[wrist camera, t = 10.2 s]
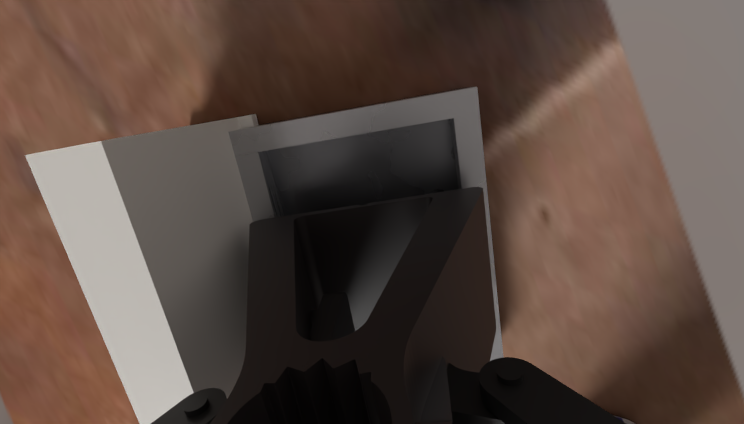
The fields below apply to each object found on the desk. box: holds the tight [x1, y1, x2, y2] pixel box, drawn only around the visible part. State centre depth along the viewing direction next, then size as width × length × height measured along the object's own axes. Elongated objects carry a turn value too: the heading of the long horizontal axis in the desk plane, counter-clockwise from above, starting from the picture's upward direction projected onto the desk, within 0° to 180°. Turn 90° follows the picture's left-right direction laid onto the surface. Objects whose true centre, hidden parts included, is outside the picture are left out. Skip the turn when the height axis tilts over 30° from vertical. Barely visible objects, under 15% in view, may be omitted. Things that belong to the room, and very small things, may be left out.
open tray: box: [228, 87, 503, 361], centre depth 18 cm, size 13×10×2 cm
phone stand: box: [210, 187, 496, 424], centre depth 11 cm, size 9×6×12 cm, turn 100°
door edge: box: [25, 114, 258, 424], centre depth 16 cm, size 16×3×9 cm, turn 10°
